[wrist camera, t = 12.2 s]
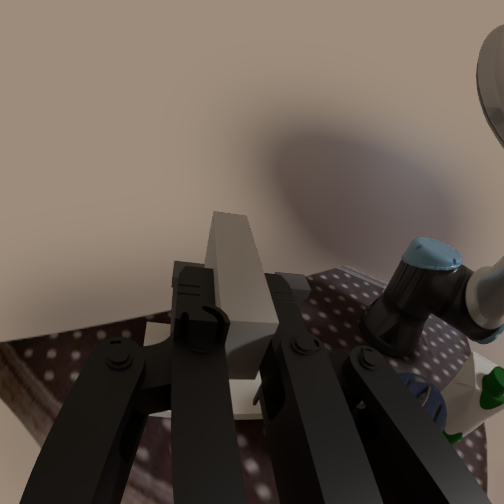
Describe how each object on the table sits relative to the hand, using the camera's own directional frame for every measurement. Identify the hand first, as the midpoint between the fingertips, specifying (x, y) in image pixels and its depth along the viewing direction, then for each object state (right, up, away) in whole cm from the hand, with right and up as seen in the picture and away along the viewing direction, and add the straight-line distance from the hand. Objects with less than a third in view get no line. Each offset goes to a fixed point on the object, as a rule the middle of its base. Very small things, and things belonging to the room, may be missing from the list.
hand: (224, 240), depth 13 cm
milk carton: (+29, -32, +20) cm, 48 cm away
